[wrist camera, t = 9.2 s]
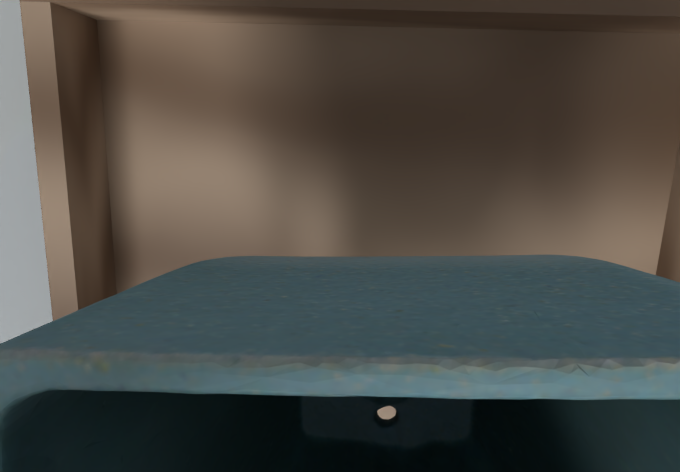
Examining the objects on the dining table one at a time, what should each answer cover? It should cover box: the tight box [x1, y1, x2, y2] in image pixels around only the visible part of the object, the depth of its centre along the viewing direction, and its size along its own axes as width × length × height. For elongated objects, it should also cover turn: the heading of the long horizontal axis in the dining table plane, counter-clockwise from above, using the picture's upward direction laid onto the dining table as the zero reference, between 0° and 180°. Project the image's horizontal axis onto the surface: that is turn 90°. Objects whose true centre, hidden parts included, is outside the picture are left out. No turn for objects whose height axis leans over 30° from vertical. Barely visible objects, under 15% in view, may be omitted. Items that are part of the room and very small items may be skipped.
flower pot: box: [0, 255, 680, 472], centre depth 10 cm, size 9×9×9 cm
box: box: [20, 0, 680, 419], centre depth 16 cm, size 20×20×3 cm
